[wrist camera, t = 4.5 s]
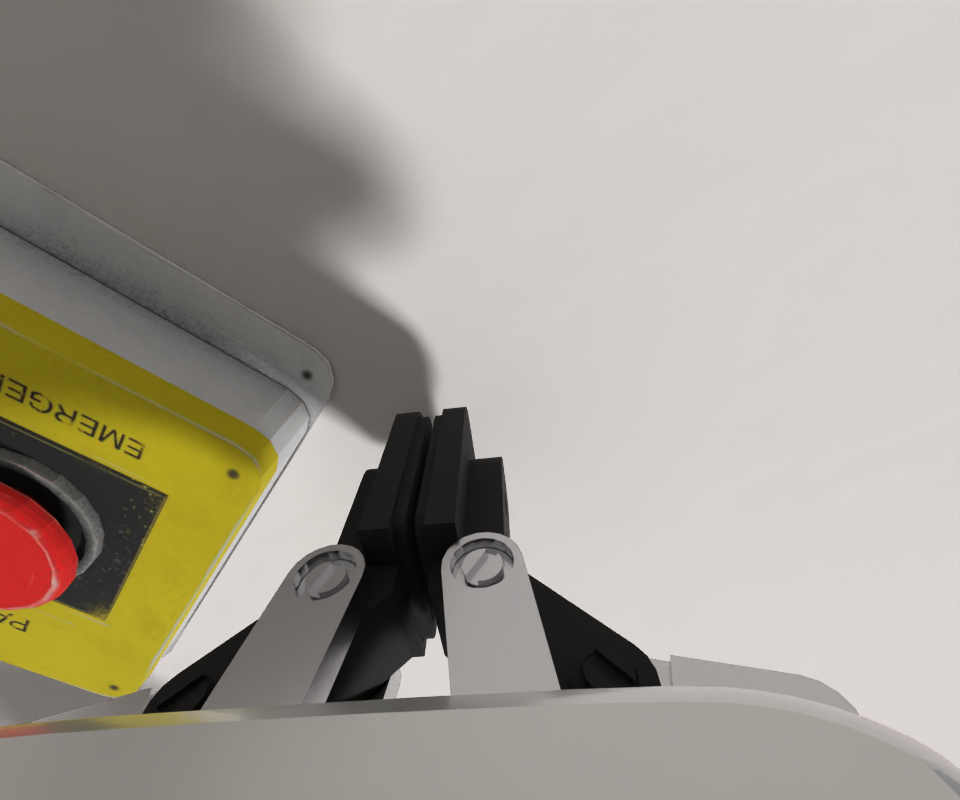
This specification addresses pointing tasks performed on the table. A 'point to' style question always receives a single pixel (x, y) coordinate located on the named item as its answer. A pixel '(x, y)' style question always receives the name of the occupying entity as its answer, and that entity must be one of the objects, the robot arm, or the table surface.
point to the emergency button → (126, 439)
